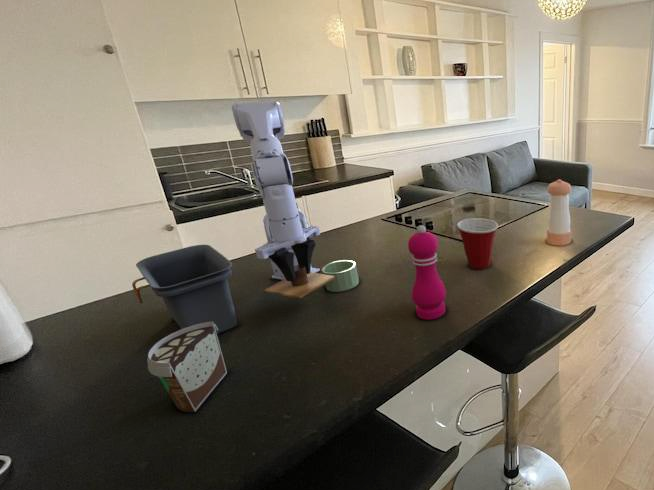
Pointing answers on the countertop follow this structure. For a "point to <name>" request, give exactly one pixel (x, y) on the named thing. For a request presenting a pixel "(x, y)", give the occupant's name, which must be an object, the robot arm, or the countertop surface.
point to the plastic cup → (478, 240)
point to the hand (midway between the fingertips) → (298, 276)
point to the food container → (188, 364)
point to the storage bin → (191, 285)
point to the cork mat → (300, 289)
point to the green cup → (341, 275)
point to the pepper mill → (426, 275)
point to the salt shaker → (559, 213)
